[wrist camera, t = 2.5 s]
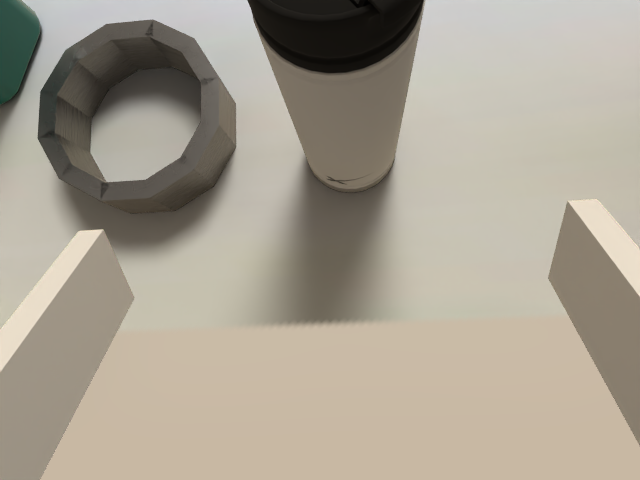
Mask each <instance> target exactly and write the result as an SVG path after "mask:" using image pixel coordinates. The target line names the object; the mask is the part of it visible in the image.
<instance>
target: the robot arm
mask: <svg viewBox="0 0 640 480" xmlns="http://www.w3.org/2000/svg"><path fill="white" fill-rule="evenodd" d="M548 279H549V281H550V282H551V284H552V286H553V288H554V290H555V292H556V293H557V295H558V297H559V299H560V301H561V303H562V304H563V306H564V308H565V310H566V312H567V314H568V315H569V317H570V319H571V321H572V323H573V324H574V326H575V328H576V330H577V332H578V334H579V335H580V337H581V339H582V341H583V343H584V344H585V346H586V348H587V350H588V352H589V354H590V355H591V357H592V359H593V361H594V363H595V365H596V367H597V368H598V370H599V372H600V374H601V376H602V378H603V379H604V381H605V383H606V385H607V386H608V388H609V390H610V392H611V394H612V396H613V398H614V399H615V401H616V403H617V405H618V407H619V409H620V410H621V412H622V414H623V416H624V417H625V420H626V421H627V423H628V425H629V427H630V428H631V430H632V432H633V434H634V436H635V438H636V440H637V441H638V443H639V445H640V248H639V247H638V246H637V245H636V244H635V242H634V241H633V240H632V239H631V238H630V237H629V235H628V234H627V233H626V232H625V231H624V230H623V228H622V227H621V226H620V225H619V224H618V223H617V221H616V220H615V219H614V218H613V217H612V216H611V214H610V213H609V212H608V211H607V210H606V209H605V207H604V206H603V205H602V204H601V203H600V202H599V200H598V199H589V200H572V201H567V205H566V209H565V213H564V217H563V221H562V225H561V229H560V233H559V237H558V241H557V245H556V249H555V253H554V257H553V261H552V265H551V269H550V273H549V277H548ZM133 300H134V296H133V294H132V291H131V289H130V287H129V285H128V282H127V280H126V278H125V276H124V274H123V271H122V269H121V267H120V265H119V263H118V260H117V258H116V256H115V254H114V251H113V249H112V247H111V245H110V243H109V240H108V238H107V236H106V234H105V231H104V229H101V230H84V231H78V233H77V234H76V235H75V236H74V238H73V239H72V240H71V241H70V243H69V244H68V245H67V246H66V248H65V249H64V250H63V251H62V253H61V254H60V255H59V256H58V258H57V259H56V260H55V261H54V263H53V264H52V265H51V267H50V268H49V269H48V270H47V272H46V273H45V274H44V275H43V277H42V278H41V279H40V280H39V282H38V283H37V284H36V285H35V287H34V288H33V289H32V290H31V292H30V293H29V294H28V296H27V297H26V298H25V299H24V301H23V302H22V303H21V304H20V306H19V307H18V308H17V309H16V311H15V312H14V313H13V314H12V316H11V317H10V318H9V319H8V321H7V322H6V323H5V324H4V326H3V327H2V328H1V330H0V480H40V479H41V477H42V475H43V473H44V471H45V469H46V467H47V465H48V463H49V461H50V459H51V457H52V456H53V454H54V452H55V450H56V448H57V446H58V444H59V442H60V440H61V438H62V436H63V434H64V432H65V431H66V428H67V427H68V425H69V422H70V421H71V419H72V417H73V415H74V413H75V411H76V409H77V407H78V406H79V404H80V402H81V400H82V398H83V396H84V394H85V392H86V390H87V388H88V386H89V384H90V382H91V381H92V379H93V377H94V375H95V373H96V371H97V369H98V367H99V365H100V363H101V361H102V359H103V357H104V355H105V354H106V352H107V350H108V348H109V346H110V344H111V342H112V340H113V338H114V336H115V334H116V332H117V331H118V329H119V327H120V325H121V323H122V321H123V319H124V317H125V315H126V313H127V311H128V309H129V307H130V306H131V304H132V302H133Z"/></svg>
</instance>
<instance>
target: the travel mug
mask: <svg viewBox="0 0 640 480" xmlns="http://www.w3.org/2000/svg"><path fill="white" fill-rule="evenodd" d="M248 3H249V5H250V7H251V10H252V14H253V19H254V23H255V26H256V28H257V30H258V33H259V36H260V39H261V41H262V44H263V46H264V49H265V51H266V54H267V57H268V59H269V62H270V64H271V67H272V70H273V72H274V75H275V77H276V80H277V83H278V85H279V88H280V90H281V93H282V96H283V98H284V101H285V103H286V106H287V109H288V111H289V114H290V116H291V119H292V121H293V124H294V127H295V129H296V132H297V134H298V137H299V140H300V142H301V145H302V147H303V150H304V153H305V155H306V158H307V160H308V163H309V165H310V168H311V170H312V172H313V173H314V175H315V176H316V177H317V178H318V179H319V180H320V181H321V182H322V183H323V184H325V185H326V186H328V187H329V188H332V189H334V190H337V191H341V192H359V191H364V190H366V189H369V188H371V187H373V186H374V185H376V184H377V183H379V182H380V181H381V180H382V179H383V178H384V177H385V176H386V175H387V173H388V172H389V170H390V169H391V167H392V164H393V162H394V158H395V153H396V148H397V143H398V137H399V132H400V127H401V122H402V117H403V112H404V107H405V102H406V97H407V92H408V87H409V81H410V76H411V71H412V66H413V61H414V56H415V51H416V46H417V41H418V36H419V30H420V25H421V20H422V15H423V10H424V5H425V0H248Z"/></svg>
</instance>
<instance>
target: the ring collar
mask: <svg viewBox="0 0 640 480" xmlns="http://www.w3.org/2000/svg"><path fill="white" fill-rule="evenodd" d="M165 67H174V68H176V69H178V70H180V71H182V72H185V73H187V74H189V75H191V76H193V77H195V78H197V79H199V80H200V82H201V123H200V124H199V126H198V128H197V130H196V131H195V133H194V135H193V137H192V138H191V140H190V142H189V144H188V145H187V147H186V149H185V151H184V152H183V154H182V156H181V158H179V159H178V160H176V161H174V162H173V163H171V164H170V165H168V166H167V167H165V168H163V169H162V170H160V171H159V172H157V173H156V174H154V175H152V176H151V177H149V178H148V179H146V180H138V181H122V182H106V181H105V179H104V177H103V175H102V173H101V172H100V170H99V168H98V166H97V164H96V163H95V161H94V159H93V157H92V155H91V154H90V138H91V118H92V117H93V115H94V113H95V112H96V110H97V108H98V106H99V105H100V103H101V101H102V100H103V98H104V96H105V95H106V93H107V91H108V90H109V88H111V87H112V86H114V85H115V84H117V83H119V82H120V81H122V80H123V79H125V78H126V77H128V76H130V75H131V74H133V73H134V72H136V71H137V70H141V69H153V68H165ZM38 140H39V142H40V144H41V146H42V147H43V149H44V151H45V153H46V155H47V157H48V159H49V161H50V162H51V164H52V166H53V168H54V170H55V172H56V174H57V176H58V177H59V179H61V180H63V181H64V182H66V183H68V184H70V185H72V186H74V187H75V188H77V189H79V190H81V191H83V192H85V193H86V194H88V195H90V196H92V197H94V198H96V199H98V200H99V201H102V202H104V203H107V204H109V205H111V206H114V207H116V208H119V209H121V210H124V211H126V212H129V213H148V212H166V211H176V210H177V209H179V208H180V207H182V206H184V205H185V204H187V203H188V202H190V201H191V200H193V199H195V198H196V197H198V196H199V195H201V194H202V193H204V192H206V191H207V190H209V189H210V188H212V187H213V186H214V185H215V183H216V181H217V180H218V178H219V176H220V174H221V173H222V171H223V169H224V167H225V165H226V164H227V162H228V160H229V158H230V156H231V155H232V153H233V151H234V149H235V147H236V103H235V102H234V100H233V99H232V97H231V95H230V94H229V92H228V91H227V89H226V87H225V86H224V84H223V83H222V81H221V79H220V78H219V76H218V75H217V73H216V72H215V70H214V68H213V67H212V65H211V64H210V62H209V61H208V59H207V57H206V56H205V54H204V53H203V51H202V50H201V48H200V46H199V45H198V43H197V42H196V40H195V39H194V38H192V37H190V36H188V35H186V34H184V33H181V32H179V31H177V30H175V29H173V28H170V27H168V26H166V25H164V24H162V23H160V22H157V21H155V20H144V21H134V22H123V23H112V24H106V25H104V26H103V27H101V28H100V29H98V30H96V31H95V32H93V33H92V34H90V35H89V36H87V37H85V38H84V39H82V40H81V41H79V42H78V43H76V44H74V45H73V46H71V47H70V48H68V49H67V50H65V52H64V54H63V55H62V57H61V59H60V60H59V62H58V64H57V65H56V67H55V68H54V70H53V72H52V73H51V75H50V77H49V78H48V80H47V82H46V83H45V85H44V87H43V88H42V90H41V92H40V108H39V125H38Z"/></svg>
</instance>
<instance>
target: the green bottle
mask: <svg viewBox="0 0 640 480" xmlns="http://www.w3.org/2000/svg"><path fill="white" fill-rule="evenodd" d="M39 35H40V22H39V20H38V18H37V16H36V14H35V12H34V11H33V10H32V9H31V8H30V7H28V6H27V5H26V4H25V3H24V2H23V1H22V0H0V105H1V104H3V103H5V102H7V101H9V100H10V99H12V98H13V96H14V95H15V94H16V93H17V92H18V90H19V88H20V85H21V82H22V80H23V77H24V74H25V72H26V69H27V66H28V64H29V61H30V59H31V56H32V53H33V51H34V48H35V45H36V43H37V40H38V37H39Z"/></svg>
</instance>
